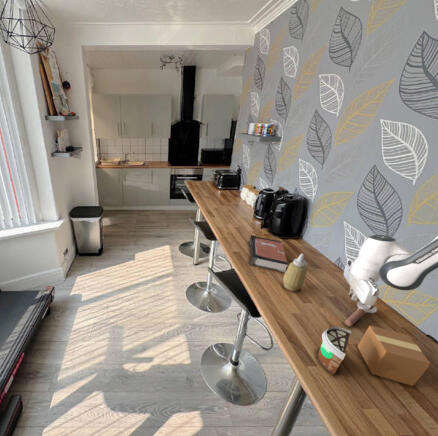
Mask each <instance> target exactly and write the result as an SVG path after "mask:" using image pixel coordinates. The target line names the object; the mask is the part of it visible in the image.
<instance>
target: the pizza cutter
mask: <svg viewBox="0 0 438 436" xmlns="http://www.w3.org/2000/svg"><path fill="white" fill-rule="evenodd" d="M356 306H357V309H356V310H355V311H354V312H353V313H352V314H351V315H350V316H348V317H347V318H346V319H345V320H344V325H346V326H347V327H352V326H353V325H354V324H355V323H356V322H358V321H359V320H360V319H361V318H362V317H363V316H364V315H366V313H368V314H375V313H376V312H377V311H378V307H377V306H376V305H374V306H369V305H365V304H362V303H361V301H360V300H359V301H357V302H356Z"/></svg>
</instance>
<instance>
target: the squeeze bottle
mask: <svg viewBox="0 0 438 436" xmlns="http://www.w3.org/2000/svg"><path fill="white" fill-rule="evenodd" d="M306 265H307V261H306V260H305V254H304V253H302V252H301V253H300V254H299V256H298V257H296V258H294V259H293V261H292V262H289V264H288V266H287V268H286V273H285V272H284V275H283V277H282V280H283V287H284V288H285V289H286V290H288V291H290V292H291V291H292V292H298V291H299V290H300V289H301V288H303V286H304V283H305V279H306V274H307V270H308V269H307V266H306Z"/></svg>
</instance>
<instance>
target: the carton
mask: <svg viewBox="0 0 438 436" xmlns="http://www.w3.org/2000/svg"><path fill="white" fill-rule="evenodd" d="M357 348H358V351H359V352H360V354H361V356H362V358H363V360H364V362H365V363H366V366H367V368H368V369H369V371H370V374H371V375H373V376H376V377H377V376H378V377H381V378H384V379H387V380H391V381H394V382H398V383H400V384H404V385H408V386H411V387H414V386H415V385H416V383H417V382H418V381H419V379H420V378H421V377H422V376H423V374H425V372H426V370H427V369H428V368H429V367H430V365H431V364H432V363H431V362H430V361H429V360H428V358H427V357H426V355H425V354H424V353H423V351H422V350H421V348H420V347H419V346H418V345H417V344H416V343H415V341H414V340H413V339H412V337H410V335H409V334H406V333H402V332H397V331H393V330H390V329H387V328H383V327H378V326H374V325H369V326H368V328H367V329H366V330H365V333H364V334H363V336H362V338H361V339H360V341H359V343H358V345H357Z"/></svg>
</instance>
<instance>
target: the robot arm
mask: <svg viewBox="0 0 438 436" xmlns="http://www.w3.org/2000/svg"><path fill="white" fill-rule="evenodd" d="M437 269H438V235H437V236H436V237H434V239H432V241H430V242H429V243H427V244H425V245H424V246H423V247H421V248H420V249H418V250H417V251H415V252H413V251H411V250H409V249H407V248H406V247H404V246H403V245H402V244H400V243H399V242H398V241H397V239H396V238H394V237H391V236H389V235H384V234H373V235H370V236H367V238H366V239H365V240H364V241H363V243H362V245H361V246H360V247H359V250H358V256H357V257H356V258H355V259H351V258H348V259H347V261H346V265H345V268H344V270H343V278H344V279H345V280H346V282H347V283H348V285H349V286H350V287H349V293H348V296H349V298H350V299H351V301H354V302H356V301H357V300H359V301H361V303H362V305H364V304H365V305H369V306H372V307H374V306H375V305H376V302H377V300H378V298H379V295H380V289H379V287H378V284H377V282H379V280H380V279H381V281H382V282H384V283H385V284H386V285H387V286H389V287H391V288H393V289H395V290H400V291H413V290H416V289H418V288H419V287H420V286H422V283H423V282H424V280H425V278H426V277H427V276H428V275H429V274H430V273H432V272H434V271H435V270H437Z"/></svg>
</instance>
